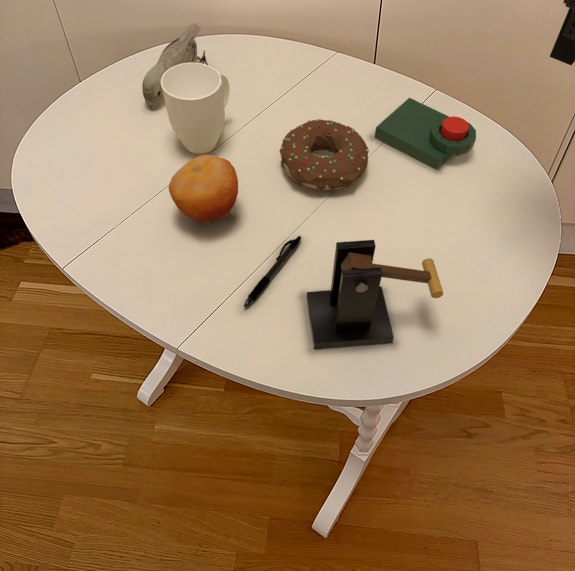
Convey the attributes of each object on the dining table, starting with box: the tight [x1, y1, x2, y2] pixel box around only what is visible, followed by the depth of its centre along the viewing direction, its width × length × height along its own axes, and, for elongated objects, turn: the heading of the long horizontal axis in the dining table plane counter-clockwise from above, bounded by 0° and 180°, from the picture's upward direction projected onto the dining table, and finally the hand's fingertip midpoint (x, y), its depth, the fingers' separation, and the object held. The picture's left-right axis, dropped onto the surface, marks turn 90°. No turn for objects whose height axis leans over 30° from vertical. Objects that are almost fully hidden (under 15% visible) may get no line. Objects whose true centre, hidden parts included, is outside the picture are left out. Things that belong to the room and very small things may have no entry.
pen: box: [243, 235, 302, 308], centre depth 81 cm, size 14×2×1 cm, turn 148°
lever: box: [341, 252, 444, 299], centre depth 70 cm, size 12×5×2 cm, turn 96°
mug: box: [161, 62, 231, 155], centre depth 93 cm, size 12×9×12 cm
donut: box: [278, 118, 370, 192], centre depth 92 cm, size 14×14×5 cm
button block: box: [373, 97, 477, 171], centre depth 96 cm, size 14×10×4 cm
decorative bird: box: [141, 23, 209, 110], centre depth 103 cm, size 5×16×7 cm, turn 153°
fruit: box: [168, 154, 239, 225], centre depth 84 cm, size 10×9×10 cm
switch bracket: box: [306, 239, 395, 350], centre depth 72 cm, size 10×8×13 cm
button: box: [440, 115, 469, 142], centre depth 93 cm, size 4×4×2 cm
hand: (562, 58), depth 70 cm, fingers closed
